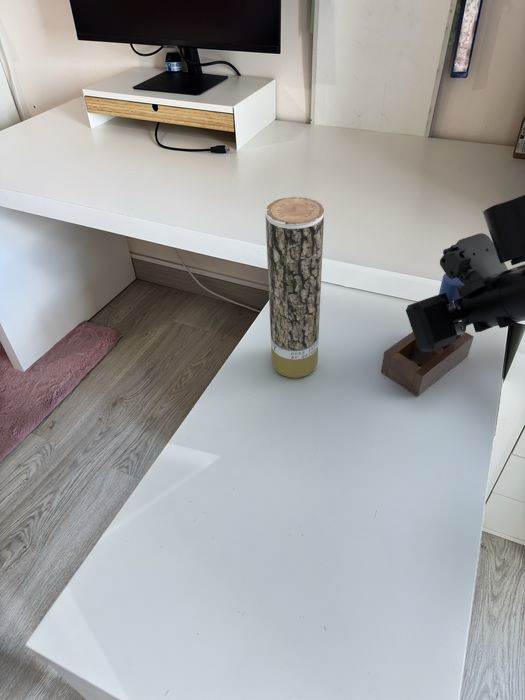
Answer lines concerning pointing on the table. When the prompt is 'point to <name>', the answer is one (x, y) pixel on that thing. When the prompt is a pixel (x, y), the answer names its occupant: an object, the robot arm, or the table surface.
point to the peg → (450, 290)
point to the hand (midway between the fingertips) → (437, 316)
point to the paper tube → (294, 282)
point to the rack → (422, 362)
